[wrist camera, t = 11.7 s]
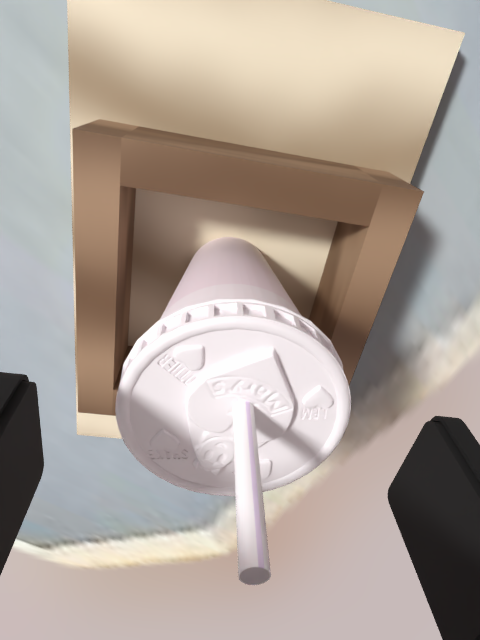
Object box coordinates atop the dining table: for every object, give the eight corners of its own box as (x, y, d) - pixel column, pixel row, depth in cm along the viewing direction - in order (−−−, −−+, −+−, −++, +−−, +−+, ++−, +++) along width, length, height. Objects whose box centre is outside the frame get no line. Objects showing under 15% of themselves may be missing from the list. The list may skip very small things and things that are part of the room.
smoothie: (321, 240, 19) (503, 525, 7) (261, 349, 22) (313, 691, 10) (187, 182, 17) (110, 414, 5) (141, 307, 20) (22, 649, 8)
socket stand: (76, -52, 14) (22, -101, 10) (449, 35, 16) (527, 21, 12) (82, 419, 25) (57, 485, 21) (306, 440, 27) (322, 505, 23)
